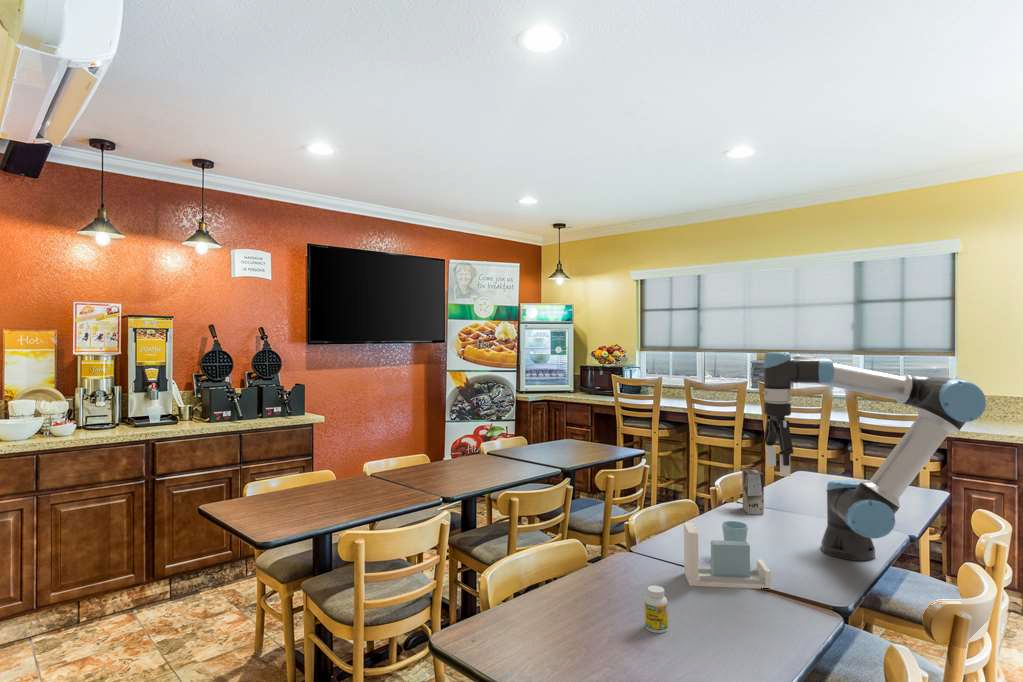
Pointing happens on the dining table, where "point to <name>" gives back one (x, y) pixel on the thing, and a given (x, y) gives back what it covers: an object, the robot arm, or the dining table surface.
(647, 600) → the supplement bottle
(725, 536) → the cup
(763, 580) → the track board
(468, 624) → the dining table surface
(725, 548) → the door panel
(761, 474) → the coffee box
